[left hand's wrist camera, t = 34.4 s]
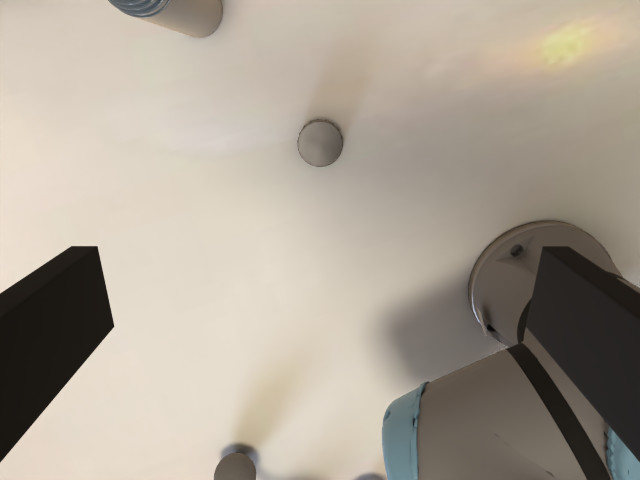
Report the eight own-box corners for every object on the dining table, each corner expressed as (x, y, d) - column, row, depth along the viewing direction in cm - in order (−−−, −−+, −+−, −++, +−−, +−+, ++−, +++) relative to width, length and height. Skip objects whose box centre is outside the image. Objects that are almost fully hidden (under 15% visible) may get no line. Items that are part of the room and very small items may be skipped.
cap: (350, 147, 42) (351, 149, 40) (314, 172, 43) (314, 175, 41) (325, 109, 41) (326, 111, 39) (289, 136, 41) (288, 138, 40)
